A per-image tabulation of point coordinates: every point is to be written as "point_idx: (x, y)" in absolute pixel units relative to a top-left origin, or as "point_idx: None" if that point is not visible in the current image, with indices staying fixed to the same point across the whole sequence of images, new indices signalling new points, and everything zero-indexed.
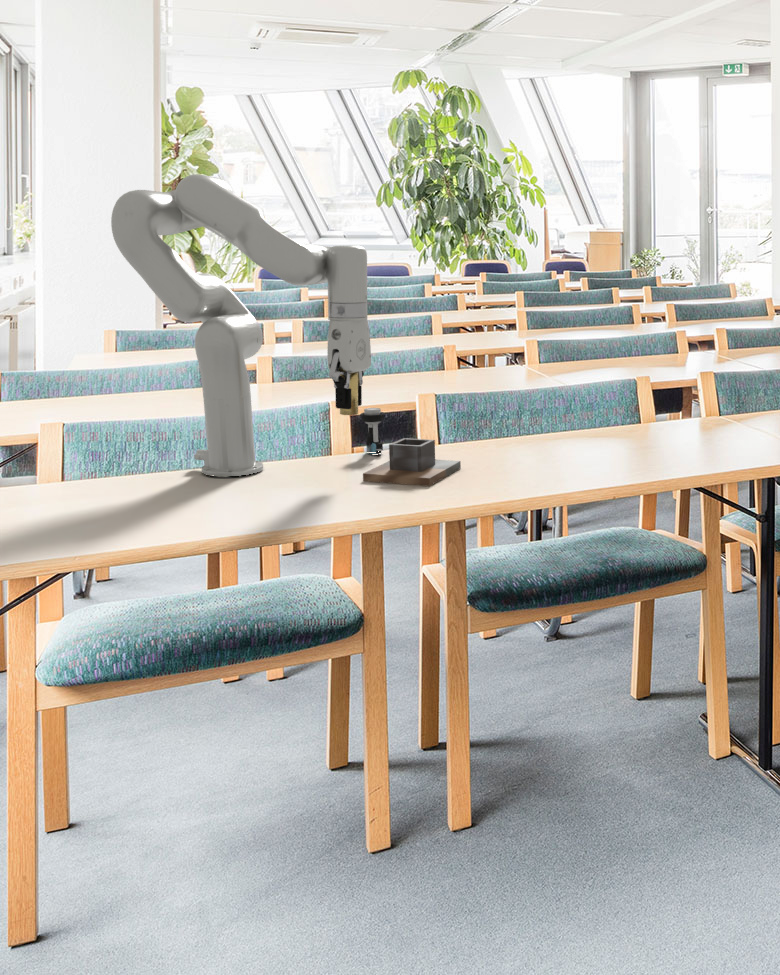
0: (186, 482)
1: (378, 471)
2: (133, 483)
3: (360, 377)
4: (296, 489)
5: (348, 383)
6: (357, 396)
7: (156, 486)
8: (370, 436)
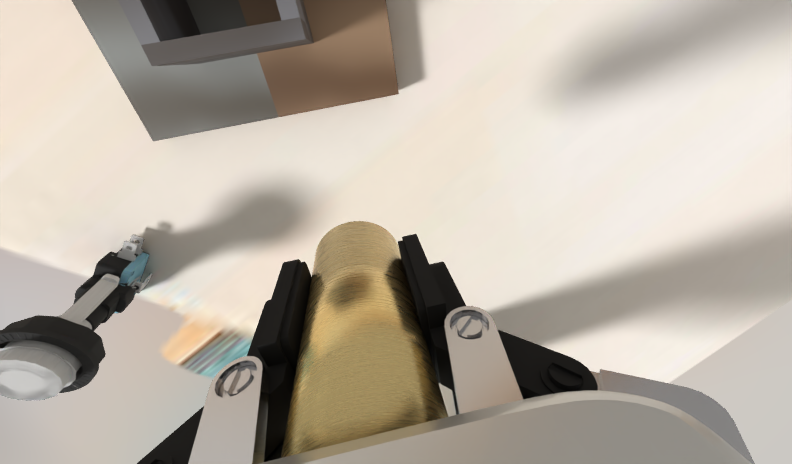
0: None
1: (354, 63)
2: None
3: (236, 417)
4: (519, 182)
5: (464, 340)
6: (342, 275)
7: None
8: (114, 302)
